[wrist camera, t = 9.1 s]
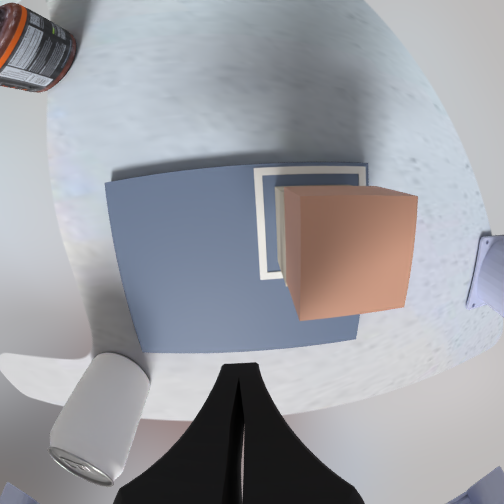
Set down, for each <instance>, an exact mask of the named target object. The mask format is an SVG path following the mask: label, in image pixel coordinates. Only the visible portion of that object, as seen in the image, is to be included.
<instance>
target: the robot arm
mask: <svg viewBox="0 0 504 504" xmlns="http://www.w3.org/2000/svg"><path fill="white" fill-rule="evenodd" d="M486 304H487V305H488V306H489V307H491V308H492V309H493V310H495V311H496V312H497V313H498V314H500V315H501V316H502V317H504V235H498V236H497V235H496V236H483V237H482V238H481V239H480V244H479V250H478V256H477V262H476V267H475V272H474V276H473V281H472V285H471V289H470V293H469V297H468V301H467V304H466V308H467V309H468V310H470V309H474V308H477V307H480V306H483V305H486ZM244 424H245V428H244ZM244 433H245V434H244ZM243 434H244V435H245V436H244V479H243V501H242V491H241V490H242V489H241V458H242V446H243ZM0 504H39V503H38V502H37V501H36V500H34V499H33V498H32V497H30V496H29V495H27V494H26V493H24V492H23V491H21V490H20V489H18V488H17V487H15V486H13V485H12V484H11V483H9V482H7V483H6V485H5V488H4V490H3V492H2V494H1V497H0ZM113 504H365V503H364V501H363V499H362V498H361V496H360V494H359V493H358V492H357V490H356V489H355V487H354V486H352V485H351V484H349V483H348V482H346V481H345V480H344V479H342V478H341V477H339V476H338V475H337V474H335V473H334V472H333V471H332V470H331V469H329V468H328V467H327V466H326V465H325V464H323V463H322V462H321V461H320V460H319V459H318V458H317V457H316V456H315V455H314V454H313V453H312V452H311V451H310V450H309V449H308V448H307V447H306V446H305V445H304V444H303V443H302V442H301V440H300V439H299V438H298V437H297V436H296V434H295V433H294V432H293V431H292V429H291V428H290V427H289V426H288V424H287V423H286V422H285V420H284V418H283V417H282V415H281V414H280V412H279V411H278V409H277V407H276V406H275V404H274V402H273V400H272V398H271V397H270V395H269V393H268V391H267V389H266V386H265V384H264V382H263V379H262V376H261V373H260V370H259V364H257V363H256V362H254V363H237V364H224V365H223V366H222V367H221V370H220V373H219V376H218V378H217V380H216V382H215V384H214V387H213V389H212V391H211V392H210V394H209V396H208V398H207V400H206V402H205V403H204V405H203V407H202V408H201V410H200V411H199V413H198V414H197V416H196V418H195V419H194V421H193V422H192V423H191V425H190V426H189V428H188V429H187V430H186V431H185V433H184V434H183V435H182V436H181V437H180V439H179V440H178V441H177V442H176V443H175V444H174V445H173V446H172V447H171V449H170V450H169V451H168V452H167V453H166V454H165V455H164V456H162V457H161V458H160V459H159V460H158V461H157V462H156V463H154V464H153V465H152V466H151V467H150V468H148V469H147V470H146V471H145V472H143V473H142V474H141V475H140V476H138V477H136V478H135V479H134V480H132V481H131V482H129V483H127V484H126V485H124V486H123V487H121V488H120V489H119V491H118V493H117V495H116V498H115V500H114V503H113ZM446 504H504V472H503V471H502V469H501V467H500V466H498V467H497V468H495V469H494V470H493V471H491V472H490V473H489V474H487V475H486V476H485V477H483V478H482V479H480V480H479V481H478V482H477V483H475V484H474V485H473V486H471V487H470V488H469V489H468V490H467V491H466V492H464V493H463V494H461V495H460V496H458V497H456V498H455V499H453V500H451V501H449V502H448V503H446Z"/></svg>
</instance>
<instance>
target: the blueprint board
mask: <svg viewBox="0 0 504 504" xmlns="http://www.w3.org/2000/svg"><path fill="white" fill-rule="evenodd" d="M301 185H352V186H368V163H353V162H293V163H266V164H249V165H234V166H222V167H211V168H201V169H192V170H184V171H175V172H168V173H161V174H154V175H147V176H141V177H134V178H129V179H123V180H117V181H112V182H107V183H105V190H106V198H107V206H108V212H109V219H110V225H111V231H112V237H113V242H114V247H115V252H116V257H117V262H118V266H119V271H120V275H121V279H122V283H123V287H124V291H125V295H126V299H127V303H128V306H129V310H130V313H131V317H132V320H133V324H134V327H135V330H136V333H137V336H138V339H139V343H140V346H141V349H142V351H143V352H148V353H223V352H244V351H260V350H273V349H284V348H294V347H303V346H311V345H319V344H327V343H334V342H341V341H347V340H353V339H356V336H357V329H358V323H359V316H360V314H356V315H349V316H341V317H333V318H324V319H315V320H305V321H299V318H298V315H297V312H296V309H295V306H294V303H293V300H292V297H291V294H290V291H289V288H288V286H286V284H285V281H284V278H283V275H282V272H281V269H280V266H279V263H278V254H277V228H276V205H275V187H276V186H301Z"/></svg>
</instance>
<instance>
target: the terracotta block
mask: <svg viewBox="0 0 504 504" xmlns="http://www.w3.org/2000/svg"><path fill="white" fill-rule="evenodd" d="M284 203H285V241H286V283H287V285H288V288H289V291H290V294H291V297H292V300H293V303H294V306H295V309H296V312H297V315H298V318H299V321H305V320H315V319H324V318H333V317H341V316H349V315H356V314H364V313H370V312H377V311H383V310H390V309H396V308H402V307H404V305H405V300H406V295H407V289H408V284H409V278H410V271H411V265H412V258H413V250H414V241H415V231H416V219H417V203H418V196H414V195H410V194H406V193H403V192H398V191H394V190H390V189H386V188H382V187H377V186H293V187H284Z"/></svg>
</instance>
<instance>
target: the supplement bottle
mask: <svg viewBox="0 0 504 504" xmlns="http://www.w3.org/2000/svg"><path fill="white" fill-rule="evenodd" d="M75 52H76V41H75V39H74V37H73V35H71V34H70V33H69V32H68V31H66V30H64V29H63V28H61V27H60V26H58V25H56V24H54V23H53V22H51V21H49V20H48V19H46V18H44V17H42V16H41V15H39V14H37V13H35V12H33V11H31V10H29V9H27V8H25V7H23V6H21V5H19V4H16V3H7V4H5V5H2V6H0V86H4V87H10V88H15V89H21V90H25V91H30V92H43V91H47V90H48V89H50V88H52V87H53V86H54V85H56V84H57V83H58V82H59V81H60V80H61V79H62V78H63V77H64V76H65V74H66V72H67V71H68V69H69V68H70V66H71V64H72V62H73V59H74V57H75Z"/></svg>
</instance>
